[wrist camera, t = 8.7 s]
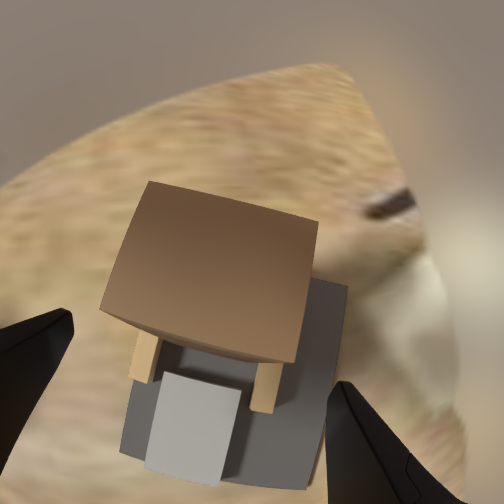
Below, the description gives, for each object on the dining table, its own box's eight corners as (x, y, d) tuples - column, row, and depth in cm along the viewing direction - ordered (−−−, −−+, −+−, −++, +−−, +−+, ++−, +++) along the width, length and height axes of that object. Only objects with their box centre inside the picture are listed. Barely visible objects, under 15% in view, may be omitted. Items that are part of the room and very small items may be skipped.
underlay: (304, 488, 15) (312, 498, 13) (121, 450, 14) (111, 458, 13) (345, 287, 20) (356, 280, 18) (173, 246, 20) (169, 234, 18)
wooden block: (245, 362, 17) (294, 363, 6) (174, 343, 17) (99, 309, 6) (258, 308, 19) (318, 221, 7) (188, 290, 18) (149, 180, 7)
